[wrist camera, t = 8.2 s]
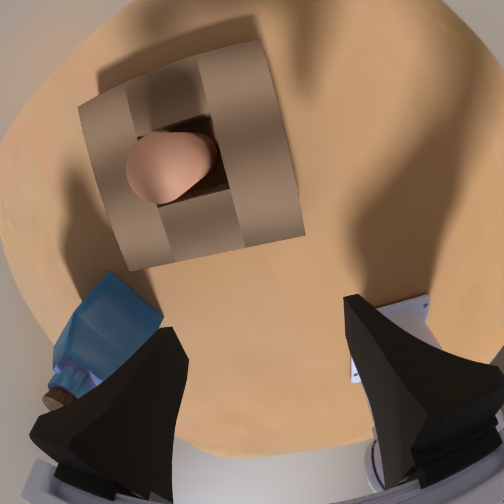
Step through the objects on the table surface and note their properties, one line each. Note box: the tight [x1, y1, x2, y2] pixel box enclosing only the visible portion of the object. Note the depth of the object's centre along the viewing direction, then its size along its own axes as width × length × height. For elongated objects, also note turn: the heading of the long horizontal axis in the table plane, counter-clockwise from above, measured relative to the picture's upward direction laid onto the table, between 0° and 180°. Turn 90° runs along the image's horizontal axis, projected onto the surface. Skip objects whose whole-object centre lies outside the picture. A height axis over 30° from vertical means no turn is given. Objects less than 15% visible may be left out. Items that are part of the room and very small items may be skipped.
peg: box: [126, 132, 217, 204], centre depth 14 cm, size 3×3×7 cm
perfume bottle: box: [42, 271, 164, 411], centre depth 18 cm, size 6×6×12 cm
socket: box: [78, 39, 305, 272], centre depth 16 cm, size 12×12×3 cm
